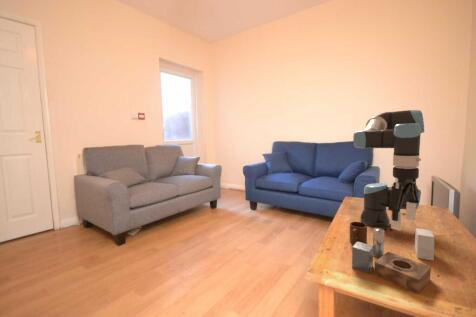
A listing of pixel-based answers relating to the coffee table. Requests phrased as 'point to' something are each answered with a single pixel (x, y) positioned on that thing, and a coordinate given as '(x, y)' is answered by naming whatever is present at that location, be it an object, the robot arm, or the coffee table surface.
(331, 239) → the coffee table surface
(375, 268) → the socket block
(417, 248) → the small box
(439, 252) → the coffee table surface
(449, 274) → the coffee table surface
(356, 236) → the mug
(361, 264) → the square block
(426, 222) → the coffee table surface
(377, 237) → the round peg
